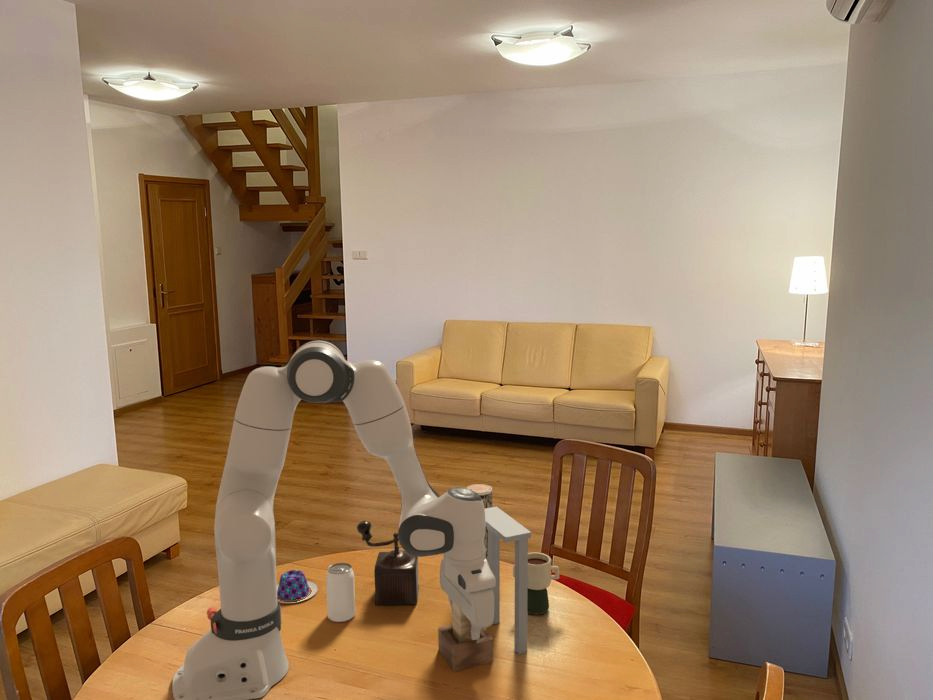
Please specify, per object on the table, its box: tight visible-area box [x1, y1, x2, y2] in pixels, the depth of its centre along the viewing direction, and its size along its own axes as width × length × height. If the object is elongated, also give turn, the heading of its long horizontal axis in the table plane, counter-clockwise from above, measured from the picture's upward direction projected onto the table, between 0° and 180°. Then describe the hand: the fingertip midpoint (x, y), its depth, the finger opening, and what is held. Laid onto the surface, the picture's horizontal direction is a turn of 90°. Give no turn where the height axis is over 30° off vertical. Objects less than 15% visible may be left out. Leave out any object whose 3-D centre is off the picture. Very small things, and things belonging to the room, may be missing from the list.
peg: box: [452, 601, 472, 644], centre depth 148 cm, size 4×4×12 cm
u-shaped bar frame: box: [485, 506, 532, 655], centre depth 154 cm, size 6×16×27 cm, turn 24°
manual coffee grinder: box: [356, 520, 420, 607], centre depth 174 cm, size 16×11×18 cm
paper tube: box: [465, 483, 493, 561], centre depth 180 cm, size 7×7×25 cm
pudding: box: [277, 569, 318, 604], centre depth 176 cm, size 12×12×5 cm
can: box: [325, 562, 356, 623], centre depth 165 cm, size 6×6×12 cm
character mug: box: [512, 551, 560, 615], centre depth 167 cm, size 11×7×13 cm, turn 86°
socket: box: [437, 624, 494, 673], centre depth 149 cm, size 9×9×5 cm
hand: (465, 626), depth 148 cm, fingers open, 8 cm apart
